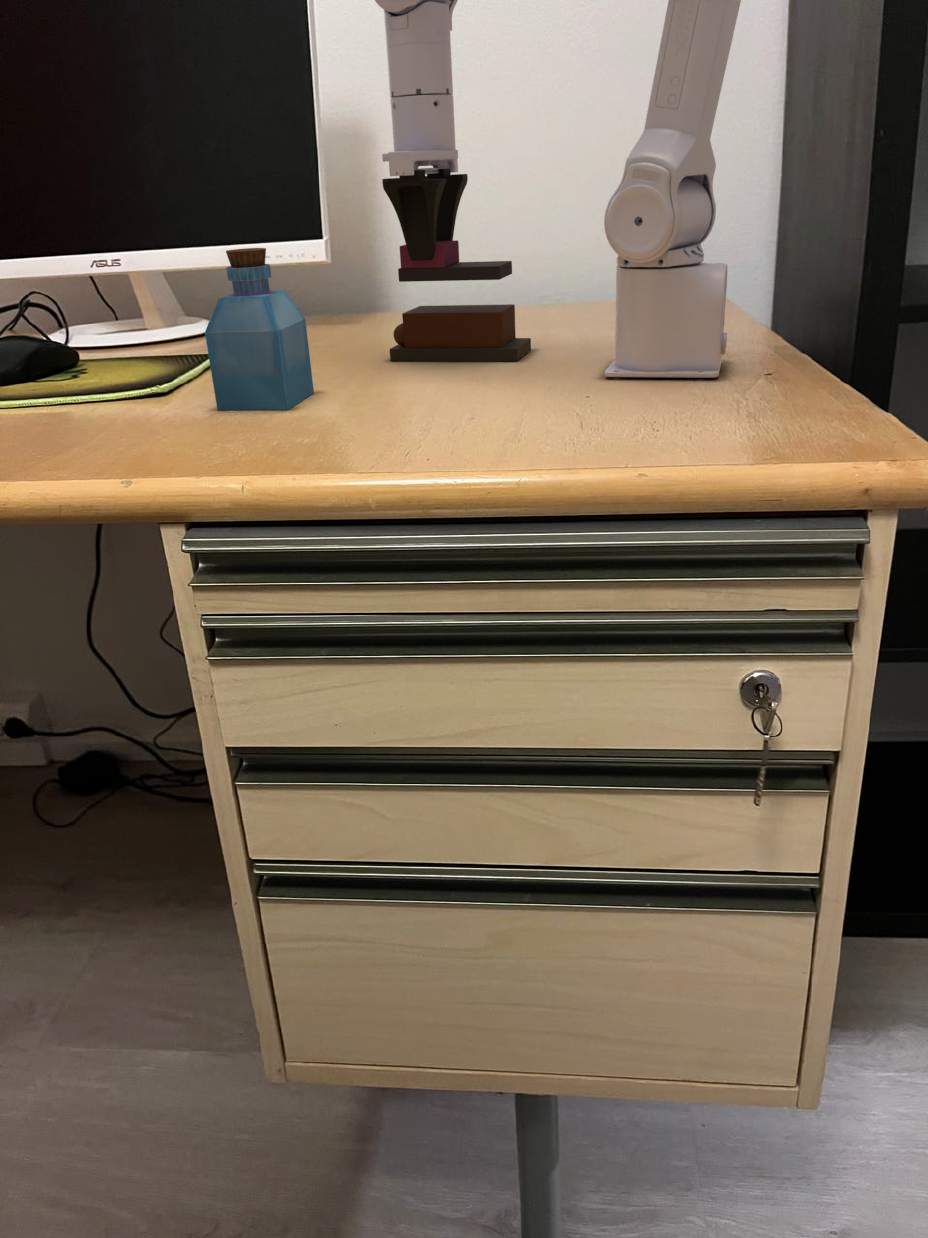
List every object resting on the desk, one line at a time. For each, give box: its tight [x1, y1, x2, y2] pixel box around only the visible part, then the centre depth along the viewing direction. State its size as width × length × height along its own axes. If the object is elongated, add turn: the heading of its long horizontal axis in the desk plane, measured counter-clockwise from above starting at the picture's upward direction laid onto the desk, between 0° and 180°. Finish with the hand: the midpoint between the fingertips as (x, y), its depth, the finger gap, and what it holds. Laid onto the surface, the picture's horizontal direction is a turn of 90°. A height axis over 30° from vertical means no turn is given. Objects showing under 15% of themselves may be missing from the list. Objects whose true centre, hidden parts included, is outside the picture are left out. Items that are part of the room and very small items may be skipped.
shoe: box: [389, 303, 532, 362], centre depth 95 cm, size 13×6×4 cm, turn 74°
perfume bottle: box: [204, 247, 315, 411], centre depth 78 cm, size 6×6×12 cm
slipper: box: [397, 239, 513, 283], centre depth 91 cm, size 10×5×3 cm, turn 74°
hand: (431, 257), depth 92 cm, fingers closed on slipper, 5 cm apart
